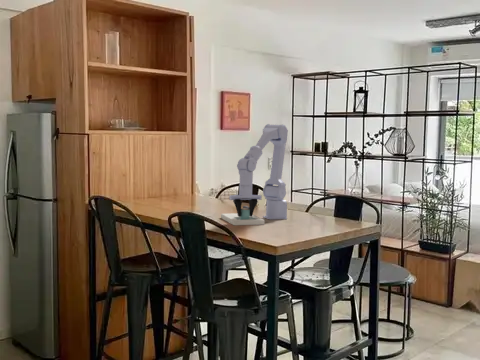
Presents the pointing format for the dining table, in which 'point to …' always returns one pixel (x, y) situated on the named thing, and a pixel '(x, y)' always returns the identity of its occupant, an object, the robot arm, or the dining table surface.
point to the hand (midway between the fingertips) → (244, 216)
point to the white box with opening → (235, 220)
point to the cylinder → (245, 214)
